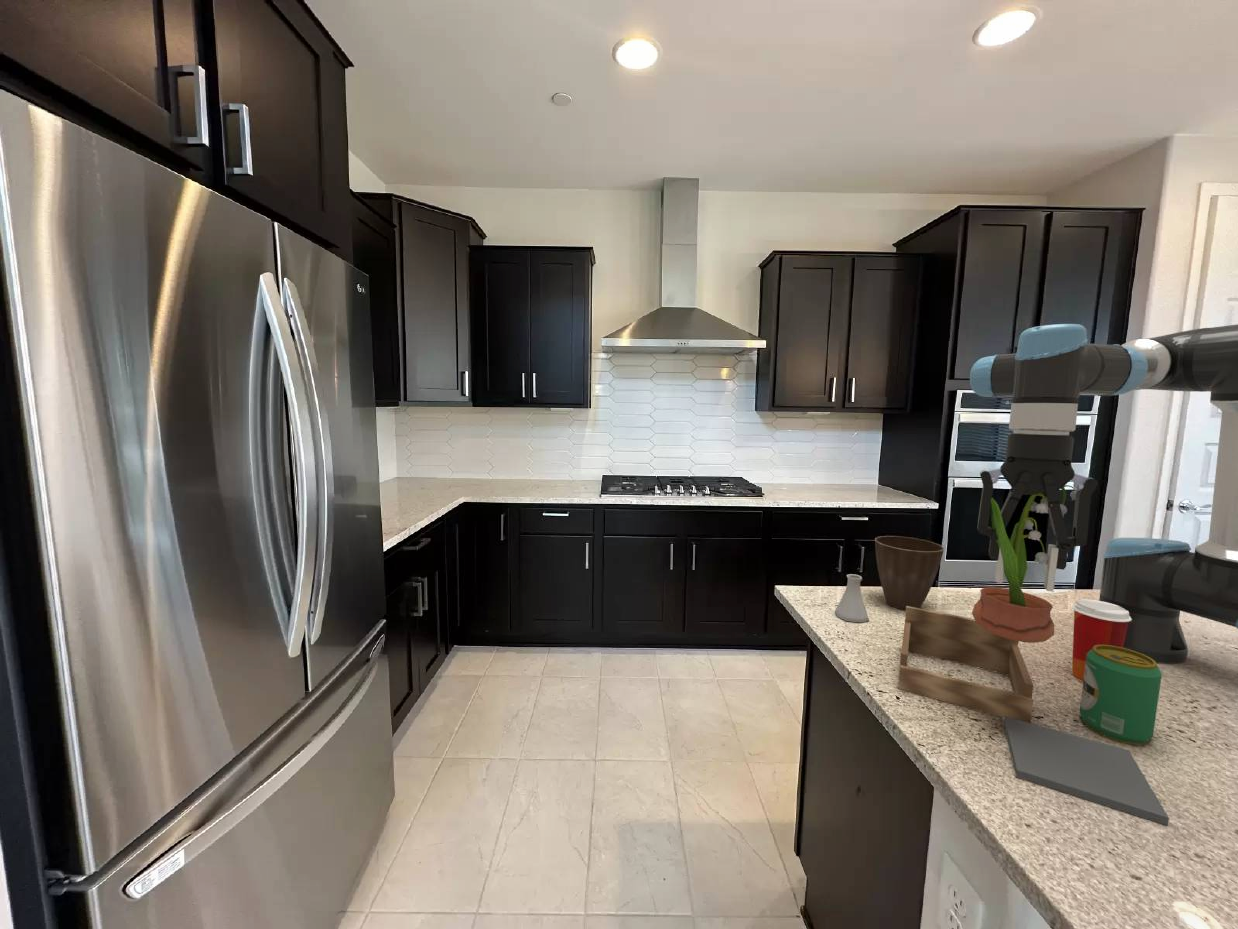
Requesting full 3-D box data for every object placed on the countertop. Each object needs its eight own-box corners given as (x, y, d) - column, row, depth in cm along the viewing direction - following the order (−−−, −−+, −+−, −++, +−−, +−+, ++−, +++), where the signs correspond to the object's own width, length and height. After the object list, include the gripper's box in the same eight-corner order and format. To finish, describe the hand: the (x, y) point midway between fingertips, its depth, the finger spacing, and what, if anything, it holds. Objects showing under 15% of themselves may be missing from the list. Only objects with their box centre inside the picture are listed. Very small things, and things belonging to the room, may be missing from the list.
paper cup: (1106, 672, 93) (1115, 601, 91) (1133, 694, 85) (1143, 617, 84) (1055, 665, 95) (1063, 595, 94) (1077, 685, 88) (1086, 610, 86)
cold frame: (1013, 674, 92) (1018, 627, 91) (1030, 724, 76) (1036, 670, 75) (902, 647, 101) (906, 605, 100) (897, 688, 86) (902, 639, 85)
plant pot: (881, 589, 135) (885, 532, 133) (945, 605, 124) (950, 543, 123) (861, 603, 124) (866, 542, 123) (929, 622, 114) (935, 555, 112)
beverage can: (1072, 707, 81) (1080, 638, 80) (1139, 724, 77) (1149, 651, 76) (1087, 734, 74) (1097, 659, 73) (1162, 754, 70) (1173, 674, 69)
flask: (829, 611, 120) (831, 571, 118) (857, 610, 120) (860, 571, 119) (844, 624, 112) (847, 581, 111) (875, 623, 113) (878, 581, 112)
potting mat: (1127, 756, 70) (1128, 750, 70) (1167, 825, 58) (1168, 818, 58) (1003, 722, 77) (1003, 716, 77) (1016, 777, 65) (1017, 770, 65)
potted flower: (1034, 622, 81) (1058, 472, 78) (1084, 652, 71) (1115, 481, 68) (957, 615, 82) (978, 467, 79) (996, 644, 72) (1022, 475, 69)
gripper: (1118, 435, 71) (1098, 590, 73) (964, 430, 81) (951, 566, 83) (1135, 436, 65) (1112, 606, 67) (965, 430, 75) (951, 578, 77)
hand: (1023, 584), depth 75 cm, fingers open, 5 cm apart
